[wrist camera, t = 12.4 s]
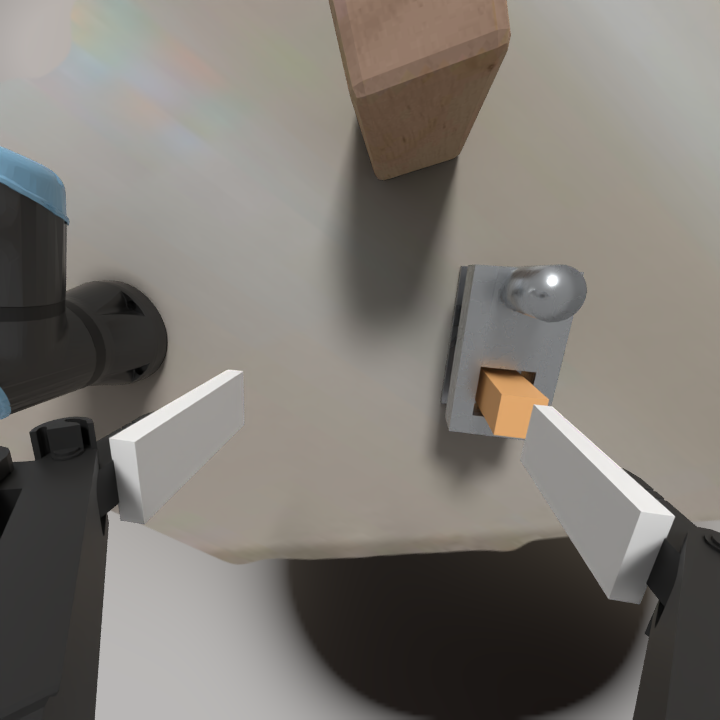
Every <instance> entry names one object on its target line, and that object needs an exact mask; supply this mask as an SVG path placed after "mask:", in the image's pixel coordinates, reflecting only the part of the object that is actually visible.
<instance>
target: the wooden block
mask: <svg viewBox="0 0 720 720" xmlns="http://www.w3.org/2000/svg"><path fill="white" fill-rule="evenodd" d="M329 4H330V9H331V13H332V18H333V22H334V27H335V31H336V35H337V40H338V44H339V49H340V53H341V58H342V62H343V67H344V71H345V76H346V80H347V85H348V89H349V93H350V97H351V100H352V103H353V107H354V110H355V113H356V116H357V119H358V122H359V126H360V129H361V132H362V135H363V138H364V142H365V145H366V148H367V151H368V154H369V157H370V161H371V164H372V167H373V170H374V173H375V175H376V176H377V178H378V179H380V180H387V179H390V178H393V177H396V176H400V175H403V174H406V173H409V172H412V171H416V170H419V169H422V168H425V167H428V166H431V165H435V164H438V163H441V162H444V161H447V160H450V159H454V158H455V157H456V156H458V155H459V154H460V152H461V150H462V148H463V146H464V144H465V141H466V139H467V137H468V135H469V133H470V131H471V128H472V126H473V124H474V122H475V120H476V118H477V115H478V113H479V111H480V109H481V107H482V105H483V102H484V100H485V98H486V96H487V94H488V92H489V89H490V87H491V85H492V83H493V81H494V78H495V76H496V74H497V72H498V70H499V68H500V65H501V63H502V61H503V59H504V57H505V55H506V52H507V50H508V45H509V41H510V36H511V33H510V25H509V17H508V8H507V0H329Z"/></svg>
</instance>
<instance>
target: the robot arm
mask: <svg viewBox="0 0 720 720" xmlns="http://www.w3.org/2000/svg"><path fill="white" fill-rule="evenodd" d="M67 225H69V219H68V217H67V216H66V192H65V187H64V185H63V183H62V181H61V180H60V178H59V177H58V176H57V175H56V174H55V173H54V172H53V171H51V170H50V169H48V168H47V167H45V166H43V165H42V164H39V163H37V162H35V161H33V160H31V159H29V158H27V157H24V156H22V155H20V154H18V153H15V152H13V151H11V150H8V149H6V148H3V147H1V146H0V419H3V418H5V417H7V416H9V415H10V414H13V413H15V412H18V411H21V410H24V409H26V408H29V407H32V406H35V405H37V404H40V403H43V402H46V401H48V400H51V399H54V398H56V397H59V396H62V395H65V394H67V393H70V392H73V391H76V390H78V389H81V388H84V387H86V386H94V385H124V384H129V383H133V382H136V381H138V380H141V379H143V378H146V377H148V376H150V375H151V374H153V373H154V372H155V371H156V370H157V369H158V368H159V366H160V365H161V363H162V361H163V359H164V356H165V353H166V347H167V336H166V330H165V326H164V323H163V320H162V318H161V316H160V314H159V312H158V310H157V309H156V307H155V306H154V305H153V303H152V302H151V301H150V300H149V299H148V298H147V297H146V296H145V295H144V294H143V293H142V292H140V291H139V290H137V289H136V288H134V287H132V286H130V285H128V284H125V283H122V282H118V281H93V282H88V283H84V284H82V285H79V286H77V287H75V288H73V289H70V290H68V291H66V251H67ZM243 425H244V380H243V371H236V370H226V371H224V372H223V373H221V374H219V375H217V376H216V377H214V378H212V379H211V380H209V381H207V382H205V383H204V384H202V385H200V386H198V387H197V388H195V389H193V390H192V391H190V392H188V393H186V394H185V395H183V396H181V397H179V398H178V399H176V400H174V401H173V402H171V403H169V404H167V405H166V406H164V407H162V408H161V409H159V410H157V411H154V412H151V413H148V414H145V415H143V416H141V417H139V418H137V419H136V420H134V421H132V423H129V424H127V425H125V426H123V427H122V429H118V430H116V431H115V432H113V433H111V434H109V435H108V436H106V437H104V438H102V439H100V440H99V441H97V442H96V437H95V431H94V424H93V421H92V419H89V418H87V417H68V418H62V419H57V420H53V421H49V422H46V423H43V424H41V425H39V426H37V427H35V428H34V429H32V430H31V431H30V432H29V433H30V438H31V442H32V447H33V452H34V456H35V461H26V462H12V458H11V454H10V451H9V449H8V448H6V447H2V446H0V720H95V707H96V693H97V679H98V665H99V651H100V637H101V623H102V608H103V596H104V582H105V581H104V580H105V567H106V553H107V539H108V526H109V522H108V515H107V512H109V511H110V510H111V509H112V508H114V507H115V506H116V505H117V504H118V505H119V512H120V519H121V521H128V522H134V523H140V524H145V523H146V522H147V521H148V520H149V519H150V518H151V517H152V516H153V515H154V514H155V513H156V512H157V511H158V510H159V509H160V508H161V507H162V506H163V505H164V504H165V503H166V502H167V501H168V500H169V499H170V498H171V497H172V496H173V495H174V494H175V493H176V492H177V491H178V490H179V489H180V488H181V487H182V486H183V485H184V484H185V483H186V482H187V481H188V480H189V479H190V478H191V477H192V476H193V475H194V474H195V473H196V472H197V471H198V470H199V469H200V468H201V467H202V466H203V465H204V464H205V463H206V462H207V461H208V460H209V459H210V458H211V457H212V456H213V455H214V454H215V453H216V452H217V451H218V450H219V449H220V448H221V447H222V446H223V445H224V444H225V443H226V442H227V441H228V440H229V439H230V438H231V437H232V436H233V435H234V434H235V433H236V432H237V431H238V430H239V429H240V428H241V427H242V426H243ZM520 461H521V462H522V464H523V465H524V467H525V468H526V470H527V472H528V473H529V475H530V476H531V478H532V479H533V481H534V483H535V484H536V486H537V487H538V489H539V490H540V492H541V493H542V495H543V497H544V498H545V500H546V501H547V503H548V504H549V506H550V508H551V509H552V511H553V512H554V514H555V515H556V517H557V519H558V520H559V522H560V523H561V525H562V526H563V528H564V530H565V531H566V533H567V534H568V536H569V537H570V539H571V540H572V542H573V544H574V545H575V547H576V548H577V550H578V551H579V553H580V555H581V556H582V558H583V559H584V561H585V562H586V564H587V566H588V567H589V569H590V570H591V572H592V574H593V575H594V577H595V578H596V580H597V581H598V583H599V584H600V586H601V587H602V589H603V591H604V592H605V594H606V595H607V597H608V598H609V599H611V600H618V601H624V602H630V603H636V604H640V602H641V600H642V597H643V595H644V592H645V590H646V587H647V585H648V586H649V588H650V589H651V590H652V592H653V593H654V594H655V595H656V597H657V598H658V599H659V601H658V603H657V606H656V608H655V610H654V613H653V615H652V617H651V620H650V622H649V624H648V627H647V629H646V632H645V634H646V635H647V636H649V640H648V645H647V650H646V655H645V660H644V665H643V670H642V675H641V680H640V685H639V691H638V696H637V701H636V706H635V711H634V716H633V720H720V533H719V532H716V531H714V530H711V529H706V528H701V527H697V526H695V525H694V524H693V523H692V522H691V521H690V520H688V519H687V518H686V517H685V516H684V515H683V514H681V513H680V512H679V511H678V510H677V509H676V508H674V507H673V506H672V505H671V504H670V503H669V502H668V501H665V500H664V498H663V497H662V496H661V495H659V494H658V493H657V492H656V491H653V489H652V488H651V487H650V486H649V485H648V484H647V483H645V482H644V481H643V480H642V479H641V478H639V477H637V476H636V475H634V474H632V473H631V472H629V471H627V470H625V469H624V468H620V467H619V466H618V465H617V464H616V463H615V462H614V461H613V460H611V459H610V458H609V457H608V456H607V455H606V454H605V453H604V452H603V451H601V450H600V449H599V448H598V447H597V446H596V445H595V444H594V443H592V442H591V441H590V440H589V439H588V438H587V437H586V436H585V435H583V434H582V433H581V432H580V431H579V430H578V429H577V428H576V427H574V426H573V425H572V424H571V423H570V422H569V421H568V420H567V419H566V418H564V417H563V416H562V415H561V414H560V413H559V412H558V411H557V410H555V409H554V408H553V407H552V406H544V405H535V404H534V405H533V409H532V413H531V417H530V421H529V426H528V430H527V434H526V438H525V442H524V446H523V451H522V455H521V459H520Z"/></svg>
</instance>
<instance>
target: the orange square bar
mask: <svg viewBox="0 0 720 720" xmlns="http://www.w3.org/2000/svg"><path fill="white" fill-rule="evenodd" d="M475 401H476V403H477V405H478V407H479V408H480V410H481V412H482V414H483V416H484V418H485V420H486V421H487V423H488V425H489V427H490V429H491V431H492V432H493V434H494V435H499V436H507V437H515V438H523V439H525V438H526V434H527V430H528V426H529V421H530V417H531V413H532V409H533V405H534V404H535V405H544V406H548V402H549V399H548V398H547V397H546V396H544V395H543V394H542V393H541V392H540V391H539V390H538V389H537V388H535V387H534V386H533V385H532V384H531V383H530V382H529V381H528V380H526V379H525V378H524V377H523V376H522V375H521V374H520V373H519V372H517V371H516V370H509V369H499V368H489V367H481V369H480V374H479V380H478V385H477V391H476V397H475Z"/></svg>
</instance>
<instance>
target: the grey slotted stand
mask: <svg viewBox="0 0 720 720" xmlns="http://www.w3.org/2000/svg"><path fill="white" fill-rule="evenodd" d="M583 274H584V272H579V271H578V270H576V269H575V268H573V267H571V266H567V265H542V266H521V267H502V266H488V265H468V266H461V268H460V274H459V281H458V288H457V295H456V301H455V308H454V315H453V322H452V328H451V335H450V342H449V349H448V355H447V362H446V369H445V376H444V382H443V389H442V396H441V403H445V404H447V405H446V412H445V418H446V422H447V426H448V429H449V431H454V432H462V433H470V434H478V435H486V436H494V437H502V438H510V439H518V440H525V439H523V438H515V437H507V436H499V435H494V434H493V432H492V431H491V429H490V427H489V425H488V423H487V421H486V420H485V418H484V416H483V414H482V412H481V410H480V408H479V407H478V405H477V403H476V401H475V397H476V391H477V385H478V380H479V374H480V369H481V367H489V368H499V369H509V370H516V371H517V372H519V373H520V374H521V375H522V376H523V377H524V378H525V379H526V380H528V381H529V382H530V383H531V384H532V385H533V386H534V387H535V388H537V389H538V390H539V391H540V392H541V393H542V394H543V395H544V396H546V397H547V398H548V399H549V402H548V406H551V405H552V401H553V397H554V392H555V388H556V384H557V380H558V376H559V372H560V368H561V364H562V360H563V356H564V352H565V348H566V344H567V339H568V335H569V331H570V327H571V323H572V319H573V315H574V314H575V313H576V312H577V311H578V310H579V309H580V308H581V306H582V305H583V303H584V301H585V298H586V293H587V287H586V282H585V279H584V277H583Z"/></svg>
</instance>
